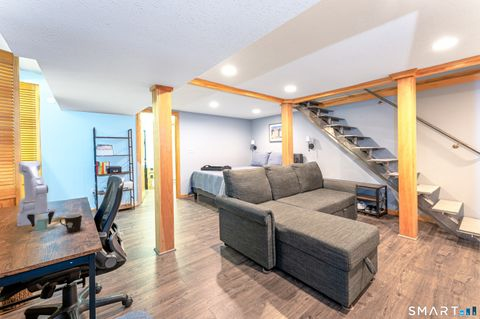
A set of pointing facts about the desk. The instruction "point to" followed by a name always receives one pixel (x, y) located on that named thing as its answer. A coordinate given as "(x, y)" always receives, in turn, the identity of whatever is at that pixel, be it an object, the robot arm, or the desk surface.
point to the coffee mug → (72, 223)
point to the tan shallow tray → (56, 221)
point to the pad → (41, 230)
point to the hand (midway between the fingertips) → (41, 225)
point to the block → (41, 224)
